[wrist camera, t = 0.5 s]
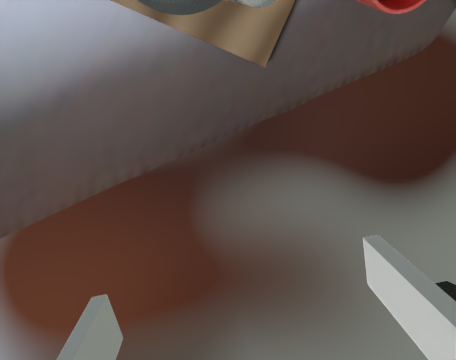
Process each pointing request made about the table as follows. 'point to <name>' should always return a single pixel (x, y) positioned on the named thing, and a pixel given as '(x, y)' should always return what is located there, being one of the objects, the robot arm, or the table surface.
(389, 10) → the flower pot
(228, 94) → the table surface
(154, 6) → the wheel
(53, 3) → the table surface
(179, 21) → the walnut base board
